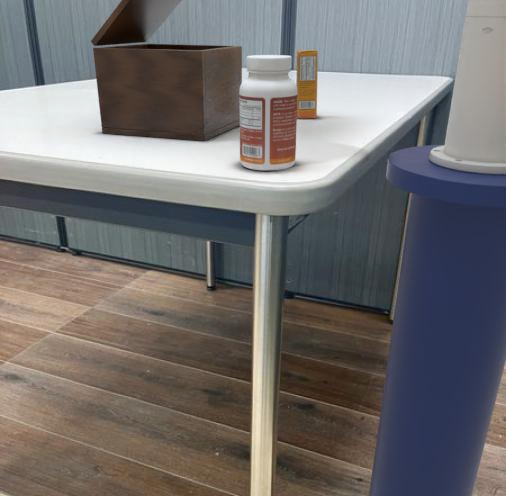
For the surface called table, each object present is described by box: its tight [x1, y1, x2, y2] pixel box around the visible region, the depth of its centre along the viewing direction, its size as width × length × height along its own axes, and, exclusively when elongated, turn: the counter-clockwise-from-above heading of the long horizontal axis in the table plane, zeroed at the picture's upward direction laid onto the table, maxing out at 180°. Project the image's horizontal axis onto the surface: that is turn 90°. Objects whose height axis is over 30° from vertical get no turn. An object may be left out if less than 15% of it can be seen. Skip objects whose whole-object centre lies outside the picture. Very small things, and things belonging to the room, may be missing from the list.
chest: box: [92, 43, 243, 142], centre depth 84 cm, size 16×15×11 cm
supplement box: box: [295, 49, 319, 120], centre depth 95 cm, size 3×3×10 cm
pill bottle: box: [239, 54, 298, 172], centre depth 63 cm, size 6×6×11 cm
